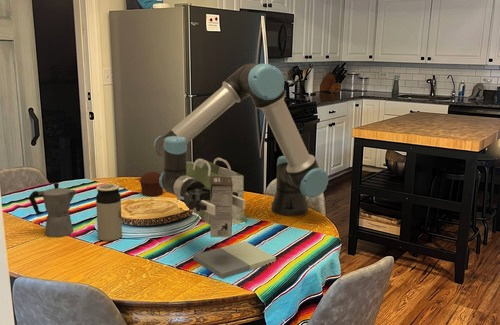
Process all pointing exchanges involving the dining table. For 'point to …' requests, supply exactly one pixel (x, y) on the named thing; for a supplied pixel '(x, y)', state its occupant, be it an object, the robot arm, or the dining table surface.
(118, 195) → the travel mug
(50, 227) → the coffeepot
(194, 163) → the grocery bag
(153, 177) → the muffin
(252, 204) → the dining table surface
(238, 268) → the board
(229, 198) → the coffee box
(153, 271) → the dining table surface
